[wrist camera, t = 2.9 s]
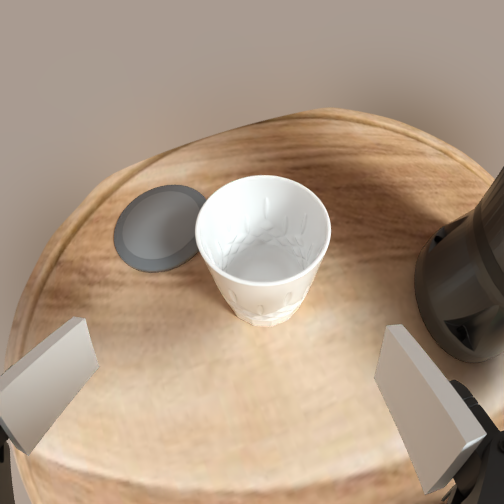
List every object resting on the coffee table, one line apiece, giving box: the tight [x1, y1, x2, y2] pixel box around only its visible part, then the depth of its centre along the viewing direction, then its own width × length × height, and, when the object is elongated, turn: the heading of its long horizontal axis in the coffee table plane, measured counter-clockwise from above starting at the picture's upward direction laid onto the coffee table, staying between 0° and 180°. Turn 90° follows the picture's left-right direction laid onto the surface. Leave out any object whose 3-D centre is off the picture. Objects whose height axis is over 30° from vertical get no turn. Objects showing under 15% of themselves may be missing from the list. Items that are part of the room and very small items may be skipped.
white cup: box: [195, 175, 331, 327], centre depth 20 cm, size 8×8×10 cm
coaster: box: [114, 185, 206, 273], centre depth 29 cm, size 11×11×1 cm
